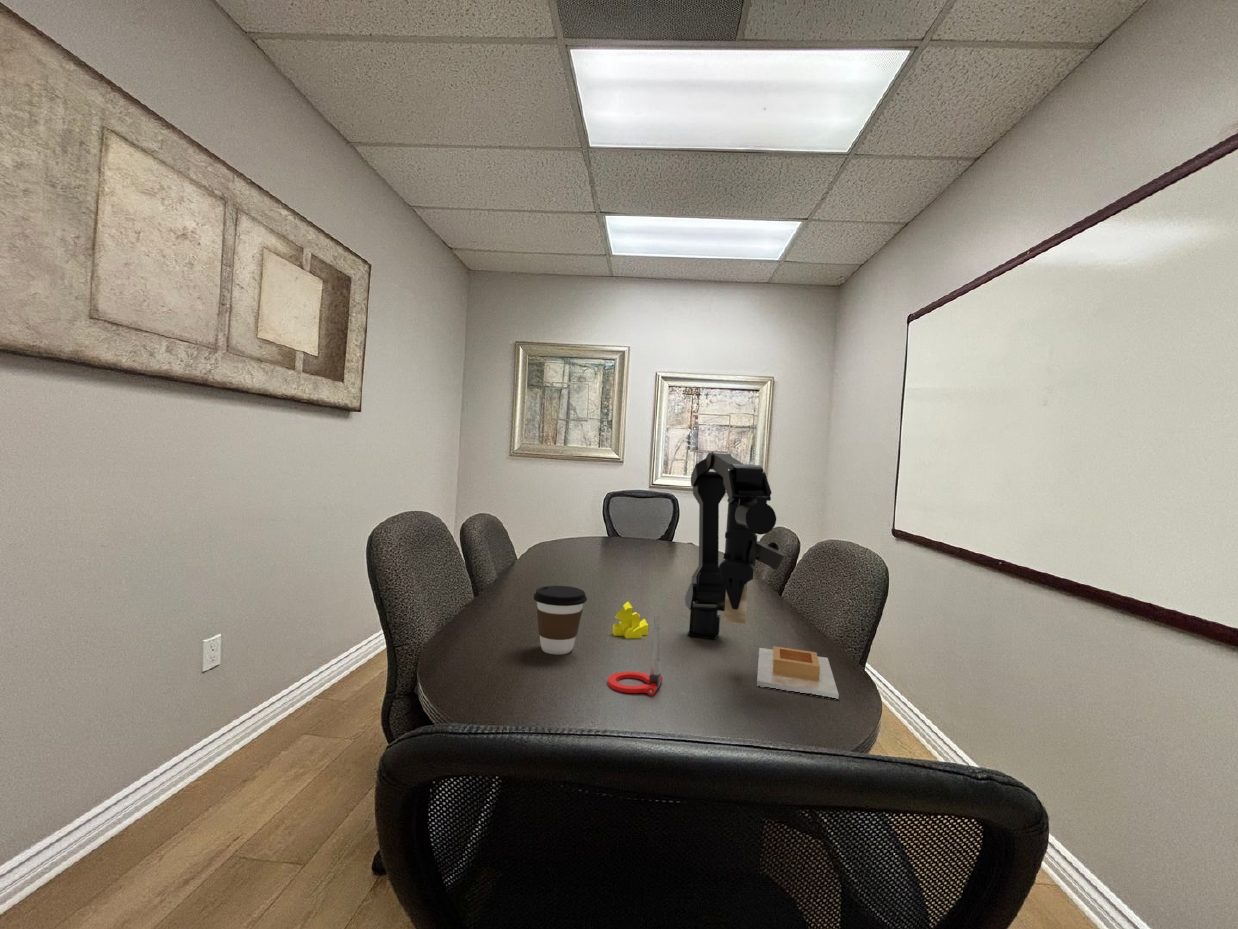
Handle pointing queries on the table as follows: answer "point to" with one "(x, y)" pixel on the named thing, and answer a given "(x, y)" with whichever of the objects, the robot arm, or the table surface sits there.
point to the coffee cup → (558, 617)
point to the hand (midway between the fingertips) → (735, 606)
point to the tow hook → (651, 679)
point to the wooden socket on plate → (795, 671)
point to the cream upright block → (738, 614)
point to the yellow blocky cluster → (629, 623)
